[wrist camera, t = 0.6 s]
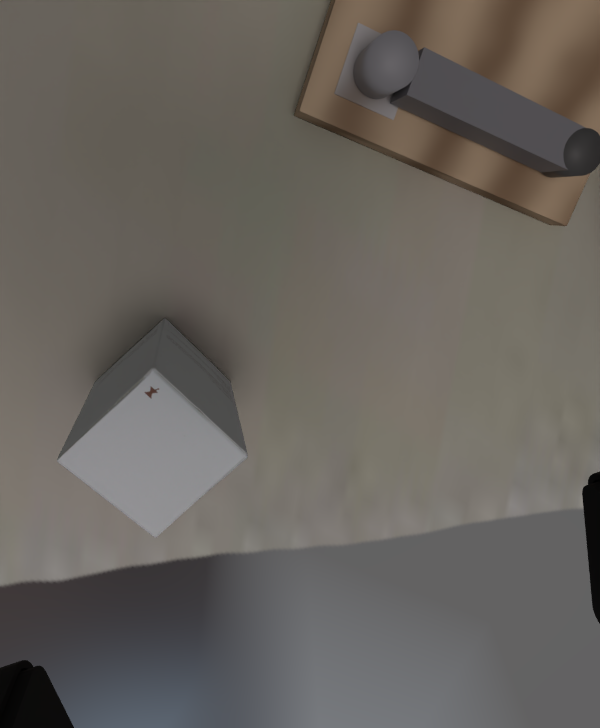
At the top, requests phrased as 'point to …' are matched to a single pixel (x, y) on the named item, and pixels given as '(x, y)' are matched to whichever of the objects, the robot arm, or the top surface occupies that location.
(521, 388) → the top surface
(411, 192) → the top surface
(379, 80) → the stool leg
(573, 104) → the flat wooden plank
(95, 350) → the top surface
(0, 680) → the robot arm
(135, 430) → the supplement box
